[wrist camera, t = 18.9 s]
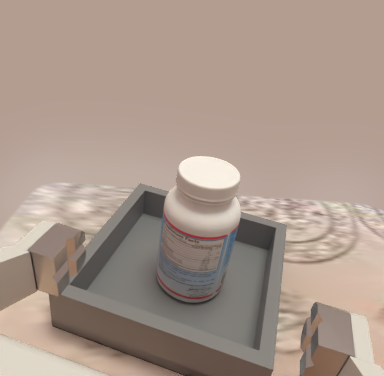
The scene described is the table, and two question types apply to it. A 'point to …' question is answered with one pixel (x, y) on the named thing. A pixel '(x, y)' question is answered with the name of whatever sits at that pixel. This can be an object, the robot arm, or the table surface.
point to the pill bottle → (198, 229)
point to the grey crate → (171, 307)
